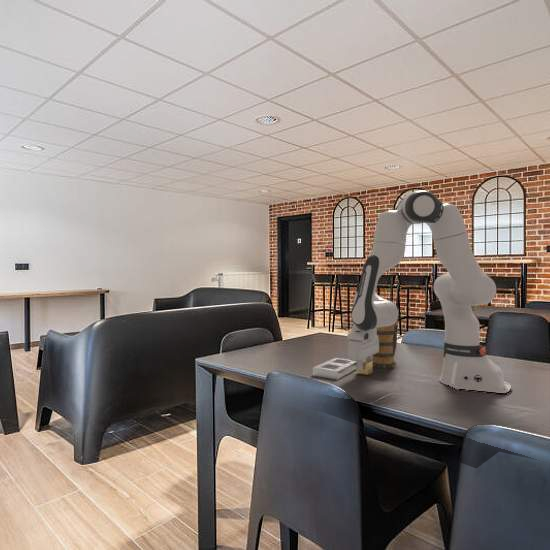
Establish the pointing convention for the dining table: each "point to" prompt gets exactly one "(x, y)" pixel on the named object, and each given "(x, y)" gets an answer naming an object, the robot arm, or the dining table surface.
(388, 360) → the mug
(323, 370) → the white flat tray
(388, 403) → the dining table surface
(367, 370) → the yellow cube
